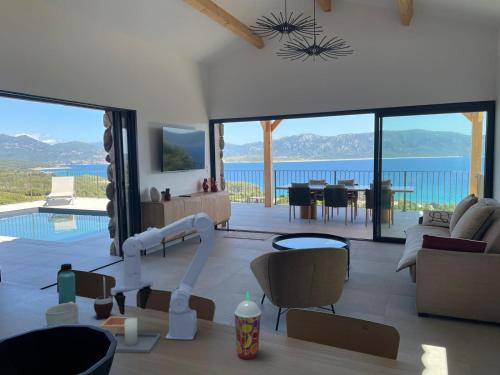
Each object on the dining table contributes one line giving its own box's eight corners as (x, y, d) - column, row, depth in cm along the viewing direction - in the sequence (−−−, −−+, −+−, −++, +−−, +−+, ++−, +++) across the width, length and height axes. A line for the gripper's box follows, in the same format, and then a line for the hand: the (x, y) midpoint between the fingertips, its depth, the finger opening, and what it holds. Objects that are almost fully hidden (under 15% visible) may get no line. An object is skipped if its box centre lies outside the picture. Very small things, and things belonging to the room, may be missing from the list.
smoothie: (235, 348, 124) (235, 287, 123) (260, 348, 124) (261, 288, 123) (233, 361, 116) (233, 296, 115) (260, 361, 116) (261, 296, 115)
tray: (160, 338, 132) (160, 333, 132) (149, 354, 120) (149, 349, 120) (115, 336, 133) (115, 332, 133) (99, 352, 121) (99, 348, 121)
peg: (139, 340, 128) (139, 317, 128) (134, 346, 124) (134, 322, 124) (127, 340, 128) (127, 317, 128) (122, 345, 124) (122, 321, 124)
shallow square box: (132, 325, 143) (132, 317, 143) (123, 334, 134) (123, 326, 134) (110, 324, 143) (110, 316, 143) (99, 334, 135) (99, 325, 135)
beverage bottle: (79, 311, 156) (78, 263, 156) (64, 316, 151) (63, 266, 150) (70, 308, 160) (69, 261, 159) (54, 313, 154) (54, 264, 154)
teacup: (65, 336, 133) (65, 313, 133) (38, 333, 135) (38, 311, 135) (89, 321, 147) (89, 300, 146) (65, 318, 149) (64, 298, 149)
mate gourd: (102, 322, 145) (101, 283, 145) (88, 318, 149) (88, 280, 149) (117, 316, 152) (117, 279, 151) (104, 312, 156) (104, 276, 155)
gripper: (146, 266, 139) (146, 303, 139) (106, 273, 129) (107, 313, 129) (155, 270, 134) (156, 308, 134) (115, 277, 124) (116, 319, 124)
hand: (132, 311), depth 131 cm, fingers open, 7 cm apart
